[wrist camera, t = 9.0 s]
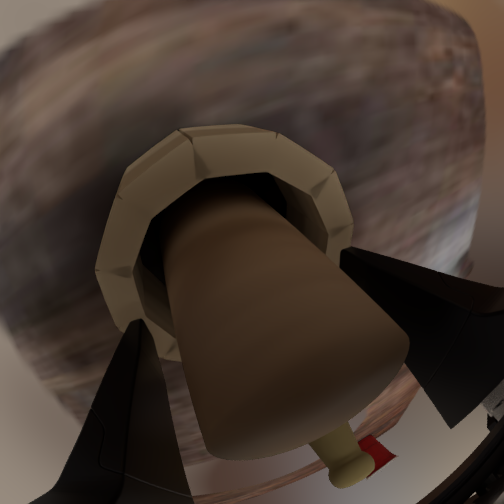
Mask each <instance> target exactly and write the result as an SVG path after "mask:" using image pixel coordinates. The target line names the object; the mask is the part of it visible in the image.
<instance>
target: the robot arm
mask: <svg viewBox="0 0 504 504" xmlns="http://www.w3.org/2000/svg"><path fill="white" fill-rule="evenodd" d="M339 268H340V269H341V270H342V271H343V272H344V273H345V274H346V275H347V276H349V277H350V278H351V279H352V280H353V281H354V282H355V283H356V284H357V285H358V286H359V287H360V288H361V289H362V290H363V291H364V292H365V293H366V294H367V295H368V296H369V297H370V298H371V299H372V300H373V301H374V302H375V303H376V304H378V305H379V306H380V307H381V308H382V309H383V310H384V311H385V312H386V313H387V314H388V315H389V316H390V317H391V318H392V319H393V320H394V321H395V322H396V323H397V325H398V326H399V327H400V328H401V329H402V330H403V331H404V332H405V333H406V334H407V335H408V337H409V342H410V344H409V351H408V354H407V357H406V359H405V361H404V363H405V364H406V366H407V367H408V368H409V370H410V371H411V372H412V374H413V375H414V377H415V378H416V379H417V381H418V382H419V384H420V385H421V386H422V388H423V389H424V391H425V392H426V394H427V395H428V397H429V398H430V400H431V401H432V402H433V404H434V405H435V407H436V408H437V410H438V411H439V413H440V414H441V416H442V417H443V419H444V420H445V422H446V423H447V425H448V426H449V427H450V429H452V428H453V427H454V426H456V425H457V424H458V423H459V422H460V421H462V420H463V419H464V418H465V417H466V416H467V415H468V414H469V413H471V412H472V411H473V410H474V409H475V408H476V407H477V406H478V405H479V404H481V406H482V407H483V408H484V409H485V410H486V412H487V416H488V417H487V428H488V429H489V431H490V433H489V434H488V435H487V437H486V438H485V439H484V440H483V441H482V442H481V444H480V445H479V446H478V447H477V448H476V449H475V450H474V452H473V453H472V454H471V455H470V456H469V457H468V458H467V459H466V460H465V461H464V462H463V463H462V464H461V465H460V466H459V467H458V468H457V469H456V470H455V471H454V472H453V473H452V474H451V475H450V476H449V477H447V478H446V479H445V480H444V481H443V482H442V483H441V484H440V485H439V486H437V487H436V488H435V489H434V490H433V491H432V492H430V493H429V494H428V495H427V496H425V497H424V498H423V499H422V500H420V501H419V502H418V503H416V504H504V288H503V287H502V288H501V287H494V286H490V285H486V284H482V283H478V282H474V281H470V280H466V279H462V278H458V277H455V276H451V275H448V274H445V273H441V272H437V271H435V270H432V269H428V268H425V267H422V266H418V265H415V264H412V263H408V262H405V261H401V260H398V259H394V258H391V257H388V256H384V255H381V254H377V253H373V252H370V251H366V250H363V249H359V248H356V247H352V246H350V247H347V248H344V249H342V250H341V252H340V262H339ZM91 408H92V409H90V410H89V413H88V415H87V418H86V420H85V423H84V425H83V427H82V430H81V432H80V435H79V437H78V439H77V441H76V443H75V445H74V448H73V450H72V452H71V454H70V456H69V458H68V460H67V462H66V464H65V467H64V469H63V471H62V473H61V475H60V477H59V480H58V481H57V483H56V484H55V485H54V487H53V488H52V489H51V490H49V491H48V492H47V493H46V494H43V495H42V496H40V497H39V498H37V499H35V500H34V501H32V502H30V503H29V504H194V501H193V498H192V495H191V492H190V489H189V485H188V482H187V479H186V475H185V471H184V467H183V464H182V460H181V456H180V452H179V448H178V444H177V439H176V435H175V430H174V426H173V421H172V416H171V411H170V406H169V400H168V395H167V389H166V384H165V379H164V376H163V372H162V368H161V365H160V361H159V357H158V354H157V350H156V346H155V342H154V339H153V336H152V334H151V332H150V331H149V329H148V327H147V325H146V324H145V322H144V320H143V319H141V318H139V319H136V320H133V321H130V323H129V324H128V326H127V328H126V330H125V332H124V334H123V336H122V338H121V340H120V343H119V345H118V347H117V349H116V351H115V353H114V355H113V357H112V360H111V362H110V364H109V366H108V368H107V371H106V373H105V375H104V377H103V380H102V382H101V384H100V386H99V389H98V391H97V393H96V396H95V398H94V401H93V403H92V406H91ZM474 492H476V494H475V495H473V496H472V497H470V496H471V495H472V494H473V493H474Z"/></svg>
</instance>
